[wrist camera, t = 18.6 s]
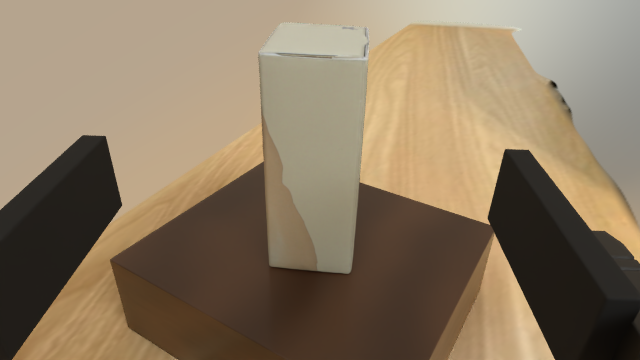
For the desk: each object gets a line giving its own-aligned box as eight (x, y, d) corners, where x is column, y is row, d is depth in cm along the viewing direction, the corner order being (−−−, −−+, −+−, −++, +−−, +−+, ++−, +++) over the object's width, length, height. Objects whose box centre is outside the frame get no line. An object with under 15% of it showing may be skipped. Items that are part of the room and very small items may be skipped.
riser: (128, 327, 26) (109, 259, 24) (276, 210, 36) (274, 154, 34) (384, 494, 19) (397, 422, 16) (479, 290, 29) (496, 226, 27)
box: (284, 212, 28) (280, 19, 22) (356, 217, 27) (371, 23, 22) (266, 271, 23) (254, 48, 17) (352, 279, 23) (369, 54, 17)
